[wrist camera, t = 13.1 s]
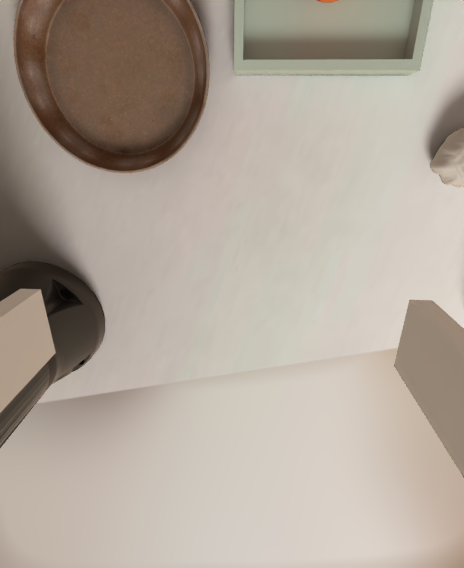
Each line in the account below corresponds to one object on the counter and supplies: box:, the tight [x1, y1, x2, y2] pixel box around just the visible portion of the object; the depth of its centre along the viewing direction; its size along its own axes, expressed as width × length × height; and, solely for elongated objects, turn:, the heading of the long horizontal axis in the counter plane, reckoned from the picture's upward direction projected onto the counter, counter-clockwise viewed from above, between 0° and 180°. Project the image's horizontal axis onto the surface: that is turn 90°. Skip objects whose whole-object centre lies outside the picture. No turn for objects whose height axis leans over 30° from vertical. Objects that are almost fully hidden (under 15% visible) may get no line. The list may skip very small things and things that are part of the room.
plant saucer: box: [13, 0, 209, 173], centre depth 32 cm, size 18×18×3 cm
